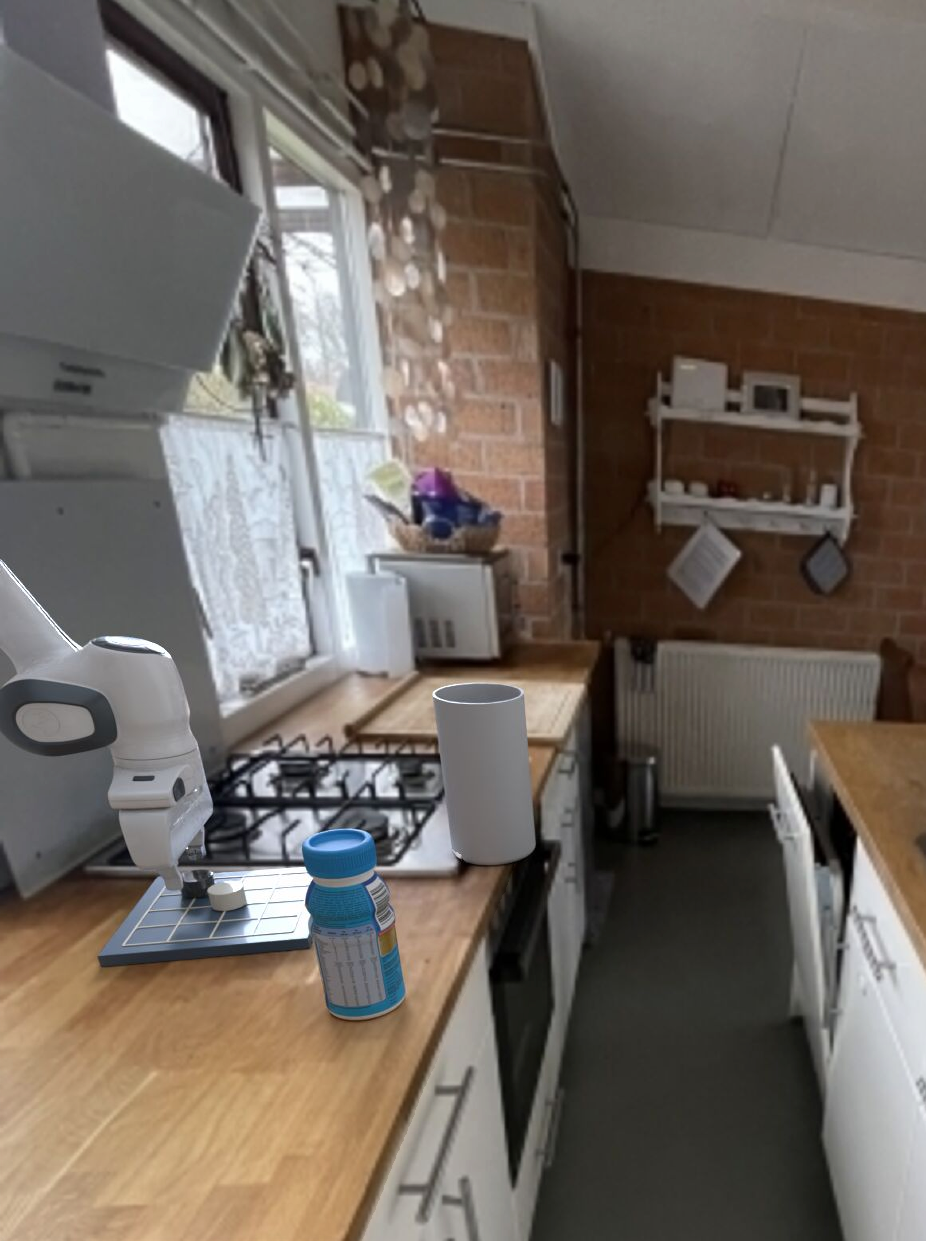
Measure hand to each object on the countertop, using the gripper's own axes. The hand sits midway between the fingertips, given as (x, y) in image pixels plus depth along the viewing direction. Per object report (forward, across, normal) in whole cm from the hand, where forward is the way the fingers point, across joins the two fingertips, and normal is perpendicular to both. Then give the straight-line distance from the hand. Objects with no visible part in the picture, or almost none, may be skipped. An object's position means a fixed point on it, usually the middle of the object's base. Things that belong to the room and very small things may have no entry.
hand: (187, 872), depth 115 cm
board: (+5, +4, +5) cm, 8 cm away
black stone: (+3, 0, +1) cm, 3 cm away
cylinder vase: (+4, -12, +38) cm, 40 cm away
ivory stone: (+3, +4, +5) cm, 7 cm away
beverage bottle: (+5, +29, +24) cm, 38 cm away
